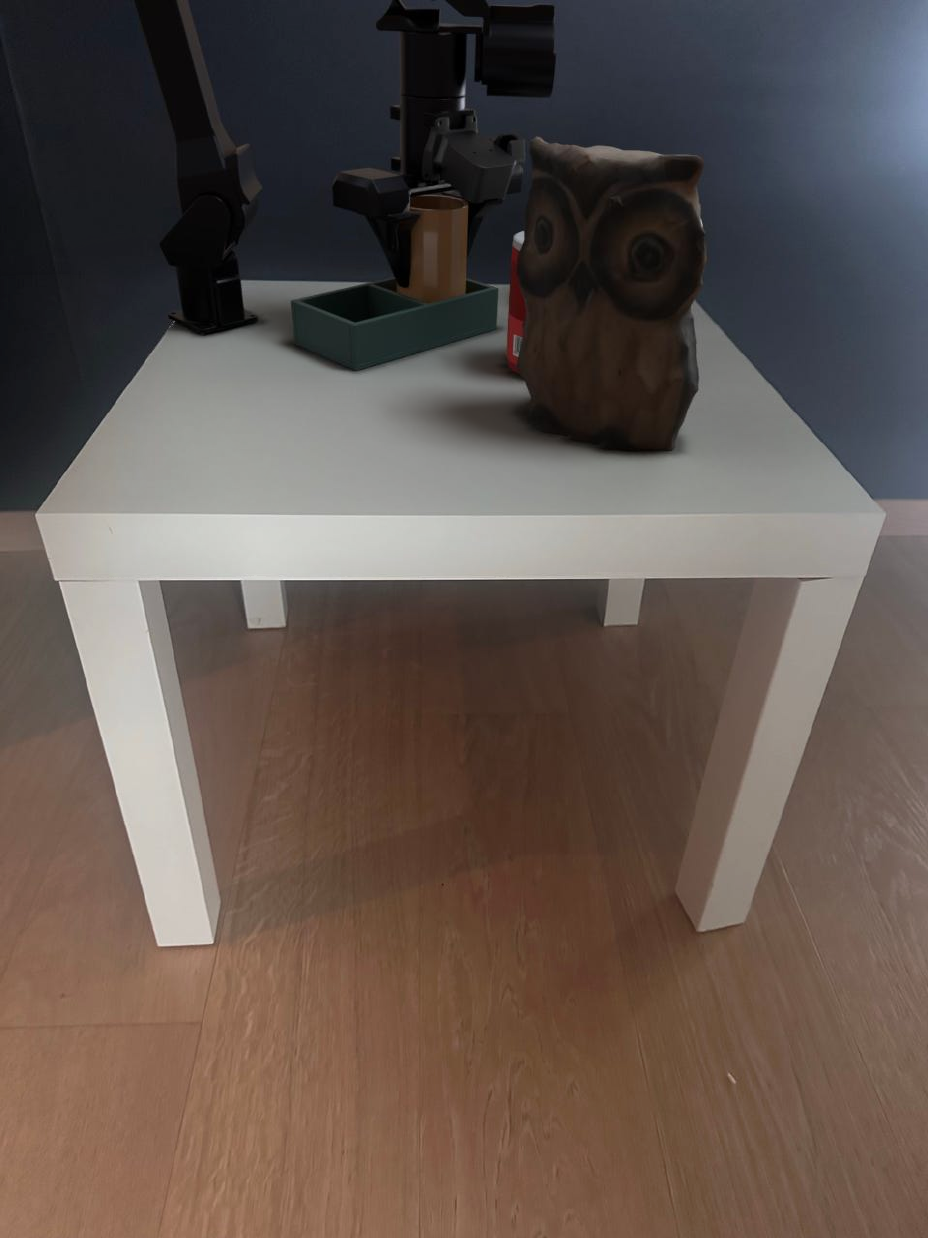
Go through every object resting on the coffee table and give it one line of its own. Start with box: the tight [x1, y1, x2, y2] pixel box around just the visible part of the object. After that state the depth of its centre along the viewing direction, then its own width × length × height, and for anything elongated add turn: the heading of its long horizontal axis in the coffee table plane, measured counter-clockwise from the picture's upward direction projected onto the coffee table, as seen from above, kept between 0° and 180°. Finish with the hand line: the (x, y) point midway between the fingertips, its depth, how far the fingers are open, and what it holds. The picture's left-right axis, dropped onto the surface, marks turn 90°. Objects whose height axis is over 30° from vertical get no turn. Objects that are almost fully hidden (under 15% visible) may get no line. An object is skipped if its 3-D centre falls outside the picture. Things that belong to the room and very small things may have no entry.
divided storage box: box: [290, 276, 499, 371], centre depth 87 cm, size 9×18×4 cm, turn 134°
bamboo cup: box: [397, 194, 468, 304], centre depth 87 cm, size 7×7×9 cm
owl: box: [516, 136, 707, 452], centre depth 67 cm, size 13×13×20 cm
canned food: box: [505, 230, 526, 375], centre depth 80 cm, size 8×8×11 cm
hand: (430, 280), depth 88 cm, fingers closed on bamboo cup, 7 cm apart
